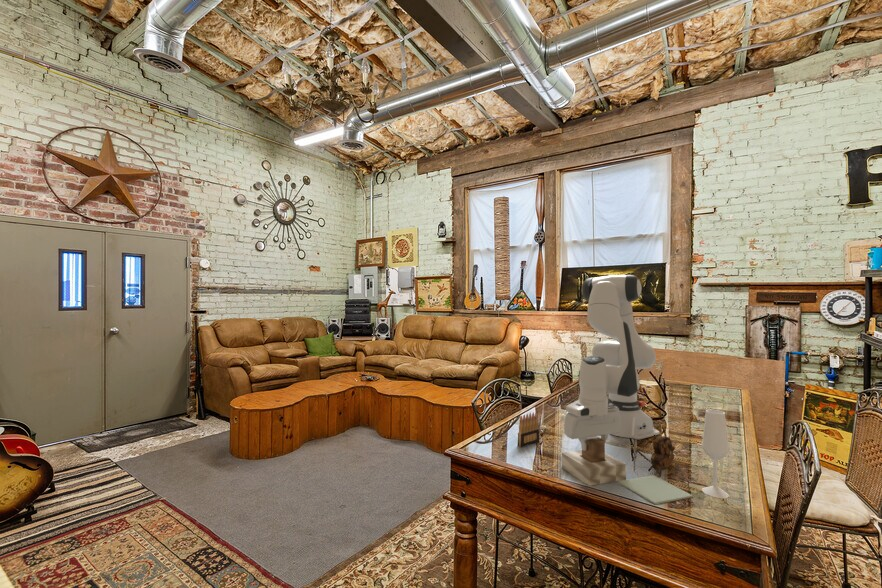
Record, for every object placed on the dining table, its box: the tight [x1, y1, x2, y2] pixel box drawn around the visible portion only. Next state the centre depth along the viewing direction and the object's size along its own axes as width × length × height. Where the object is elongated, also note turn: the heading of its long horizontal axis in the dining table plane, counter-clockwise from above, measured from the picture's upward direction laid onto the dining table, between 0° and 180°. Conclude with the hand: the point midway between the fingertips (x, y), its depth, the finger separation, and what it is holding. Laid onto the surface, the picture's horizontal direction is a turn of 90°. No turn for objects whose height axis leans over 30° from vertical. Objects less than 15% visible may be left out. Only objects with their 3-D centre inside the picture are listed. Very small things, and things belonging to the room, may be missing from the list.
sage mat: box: [617, 474, 693, 505], centre depth 121 cm, size 14×14×1 cm
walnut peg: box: [581, 436, 606, 463], centre depth 133 cm, size 5×5×10 cm
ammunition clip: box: [517, 411, 540, 448], centre depth 159 cm, size 11×2×12 cm, turn 126°
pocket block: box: [561, 449, 627, 487], centre depth 132 cm, size 14×14×5 cm
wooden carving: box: [650, 435, 676, 471], centre depth 138 cm, size 16×5×10 cm, turn 137°
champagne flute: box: [701, 409, 730, 499], centre depth 120 cm, size 7×7×24 cm
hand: (593, 448), depth 133 cm, fingers closed on walnut peg, 5 cm apart
